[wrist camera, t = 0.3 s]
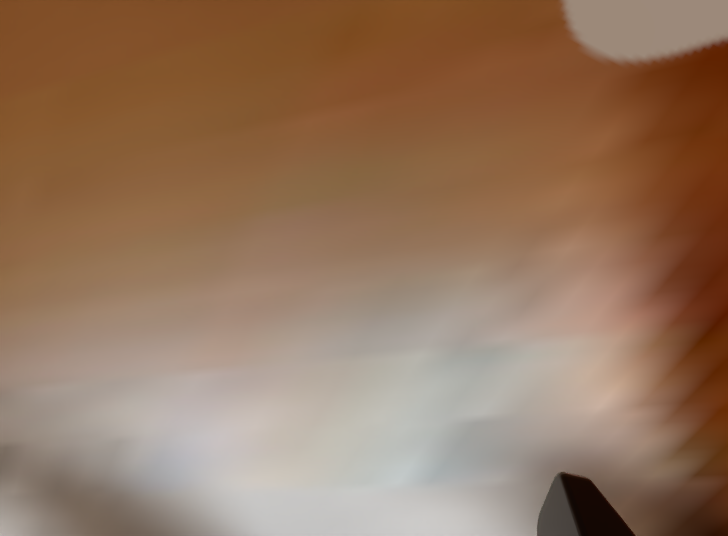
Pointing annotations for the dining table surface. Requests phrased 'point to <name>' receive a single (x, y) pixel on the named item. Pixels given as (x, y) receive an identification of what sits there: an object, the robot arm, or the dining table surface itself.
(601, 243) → the dining table surface
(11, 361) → the dining table surface
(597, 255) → the dining table surface
